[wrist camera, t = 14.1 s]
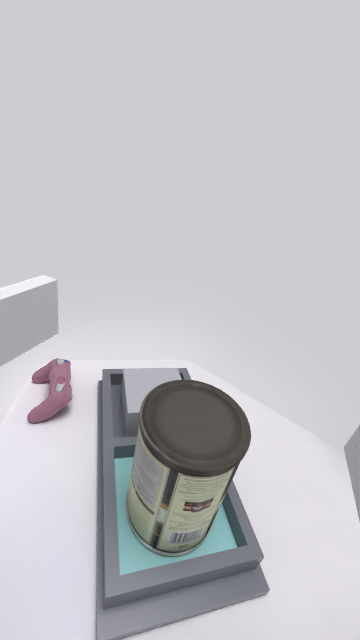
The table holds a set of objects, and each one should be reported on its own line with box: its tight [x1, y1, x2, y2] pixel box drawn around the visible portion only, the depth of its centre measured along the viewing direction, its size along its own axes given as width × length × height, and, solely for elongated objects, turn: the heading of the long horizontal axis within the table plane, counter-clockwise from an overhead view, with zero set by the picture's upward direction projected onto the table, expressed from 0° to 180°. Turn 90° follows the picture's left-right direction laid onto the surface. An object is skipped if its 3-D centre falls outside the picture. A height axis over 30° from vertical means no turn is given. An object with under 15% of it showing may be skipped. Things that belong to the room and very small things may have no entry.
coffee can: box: [126, 380, 251, 557], centre depth 28 cm, size 10×10×14 cm
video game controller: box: [27, 359, 72, 423], centre depth 42 cm, size 10×5×7 cm, turn 22°
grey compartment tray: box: [96, 368, 270, 640], centre depth 36 cm, size 16×30×6 cm, turn 15°
